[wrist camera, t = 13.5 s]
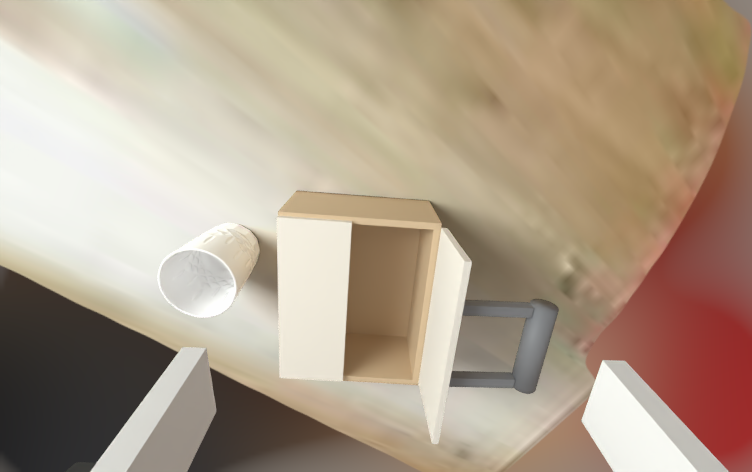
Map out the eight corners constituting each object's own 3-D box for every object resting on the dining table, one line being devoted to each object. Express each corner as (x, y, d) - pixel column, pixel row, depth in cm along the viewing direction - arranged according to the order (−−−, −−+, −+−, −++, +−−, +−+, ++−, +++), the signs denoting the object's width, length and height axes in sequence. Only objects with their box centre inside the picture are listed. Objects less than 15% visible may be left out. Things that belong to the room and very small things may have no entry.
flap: (464, 261, 28) (589, 267, 29) (441, 227, 35) (540, 233, 36) (432, 443, 35) (534, 444, 35) (418, 382, 42) (502, 384, 43)
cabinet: (296, 190, 43) (276, 213, 34) (429, 200, 44) (442, 225, 35) (296, 331, 50) (279, 380, 41) (410, 338, 51) (418, 388, 42)
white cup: (256, 282, 48) (227, 326, 38) (197, 264, 47) (152, 304, 37) (271, 230, 45) (244, 263, 36) (208, 209, 44) (164, 237, 35)
